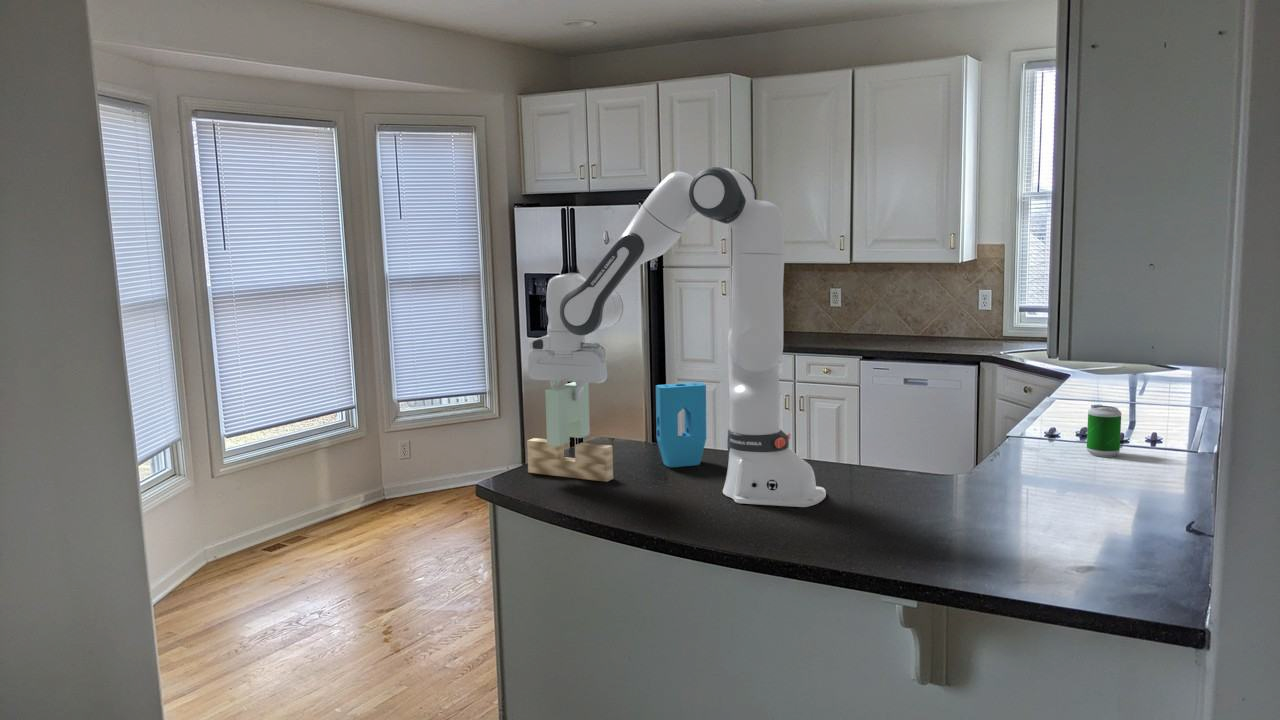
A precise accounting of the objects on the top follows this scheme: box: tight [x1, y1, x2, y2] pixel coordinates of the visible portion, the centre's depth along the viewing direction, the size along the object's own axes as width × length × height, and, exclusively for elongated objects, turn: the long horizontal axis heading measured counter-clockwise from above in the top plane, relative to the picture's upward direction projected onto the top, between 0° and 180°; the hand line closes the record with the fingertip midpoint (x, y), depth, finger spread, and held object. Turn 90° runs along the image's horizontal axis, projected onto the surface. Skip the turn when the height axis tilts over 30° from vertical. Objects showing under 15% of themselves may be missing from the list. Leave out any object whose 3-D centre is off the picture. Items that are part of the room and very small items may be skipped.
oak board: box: [526, 437, 614, 483], centre depth 229 cm, size 22×3×8 cm, turn 63°
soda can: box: [1086, 405, 1122, 458], centre depth 240 cm, size 8×8×12 cm
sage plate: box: [544, 382, 591, 446], centre depth 227 cm, size 4×14×13 cm, turn 153°
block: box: [655, 382, 707, 468], centre depth 237 cm, size 12×5×20 cm, turn 106°
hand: (568, 399), depth 227 cm, fingers closed on sage plate, 3 cm apart
